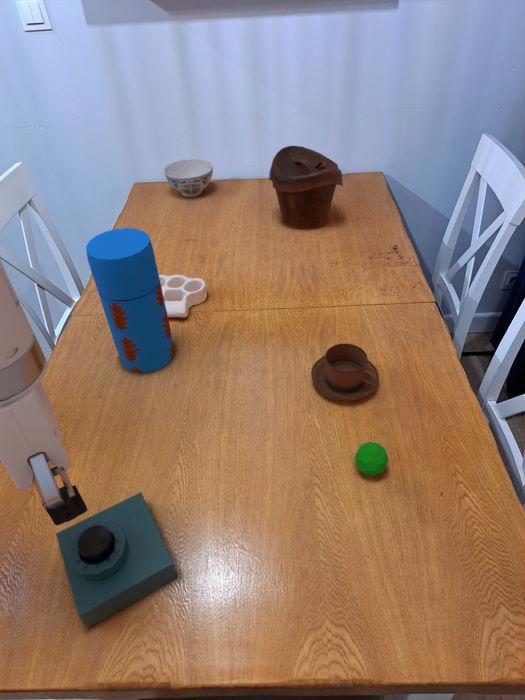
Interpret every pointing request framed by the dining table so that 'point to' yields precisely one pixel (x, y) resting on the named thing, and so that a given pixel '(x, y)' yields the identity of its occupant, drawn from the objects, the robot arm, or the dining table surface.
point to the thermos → (132, 298)
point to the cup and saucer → (345, 373)
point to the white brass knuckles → (181, 293)
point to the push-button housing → (117, 561)
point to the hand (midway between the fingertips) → (60, 481)
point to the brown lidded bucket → (304, 185)
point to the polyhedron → (371, 458)
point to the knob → (95, 544)
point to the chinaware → (189, 176)
